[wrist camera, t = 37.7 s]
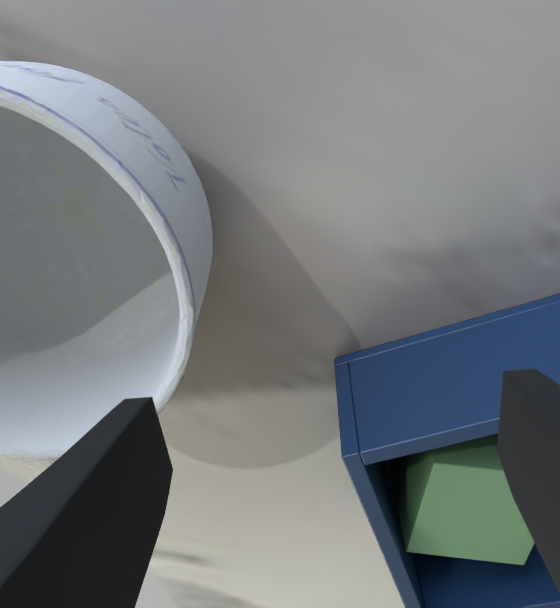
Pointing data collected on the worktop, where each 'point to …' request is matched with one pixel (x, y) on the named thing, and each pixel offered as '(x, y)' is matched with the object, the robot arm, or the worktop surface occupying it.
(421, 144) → the worktop surface
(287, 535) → the worktop surface
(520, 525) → the block
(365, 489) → the tin
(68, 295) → the teacup
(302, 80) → the worktop surface
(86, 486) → the robot arm
